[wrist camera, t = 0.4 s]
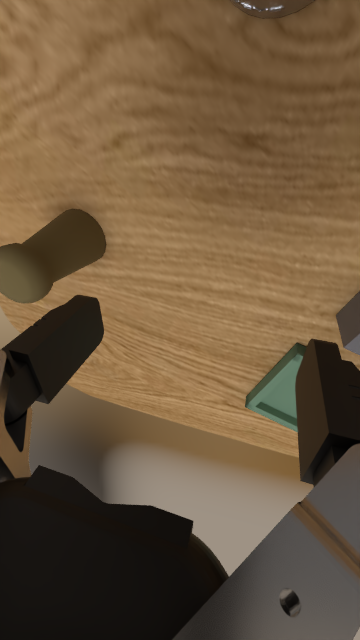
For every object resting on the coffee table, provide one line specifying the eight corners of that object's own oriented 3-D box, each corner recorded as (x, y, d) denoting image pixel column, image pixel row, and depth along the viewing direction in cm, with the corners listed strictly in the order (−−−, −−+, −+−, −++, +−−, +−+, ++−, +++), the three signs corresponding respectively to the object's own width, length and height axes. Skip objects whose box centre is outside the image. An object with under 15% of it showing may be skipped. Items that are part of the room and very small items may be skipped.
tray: (296, 342, 30) (297, 353, 29) (378, 381, 30) (383, 394, 29) (246, 396, 38) (244, 406, 37) (311, 427, 38) (311, 439, 37)
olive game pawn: (88, 270, 33) (22, 324, 25) (49, 231, 31) (-35, 275, 23) (116, 242, 30) (49, 293, 21) (73, 196, 28) (-17, 232, 20)
